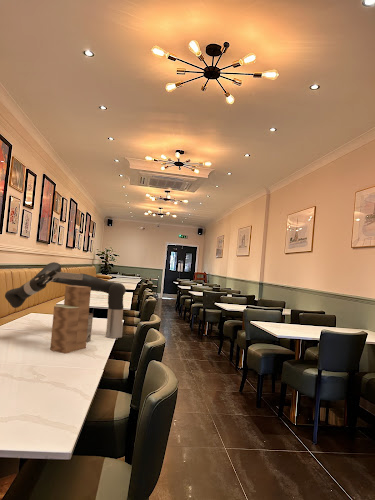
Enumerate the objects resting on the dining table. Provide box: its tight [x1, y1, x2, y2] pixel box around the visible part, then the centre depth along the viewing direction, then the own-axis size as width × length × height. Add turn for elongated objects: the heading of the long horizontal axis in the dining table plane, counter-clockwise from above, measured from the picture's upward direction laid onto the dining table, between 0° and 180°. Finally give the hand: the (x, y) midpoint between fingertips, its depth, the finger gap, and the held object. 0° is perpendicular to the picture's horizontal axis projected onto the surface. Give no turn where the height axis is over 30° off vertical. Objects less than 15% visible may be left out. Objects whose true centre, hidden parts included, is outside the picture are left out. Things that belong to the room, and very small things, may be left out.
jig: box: [49, 285, 91, 354], centre depth 184 cm, size 10×15×32 cm, turn 157°
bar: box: [46, 271, 84, 280], centre depth 186 cm, size 22×3×3 cm, turn 66°
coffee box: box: [86, 312, 94, 343], centre depth 205 cm, size 9×6×16 cm
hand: (57, 271), depth 188 cm, fingers closed on bar, 3 cm apart
